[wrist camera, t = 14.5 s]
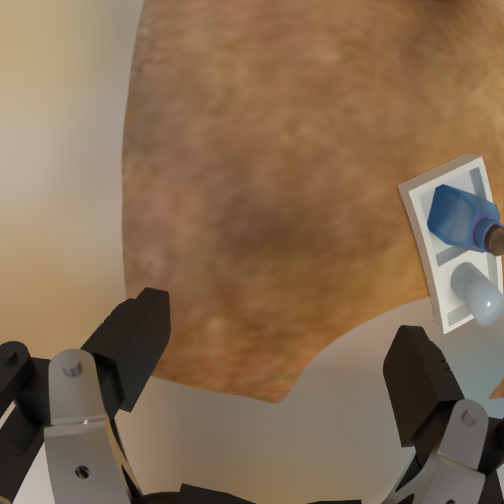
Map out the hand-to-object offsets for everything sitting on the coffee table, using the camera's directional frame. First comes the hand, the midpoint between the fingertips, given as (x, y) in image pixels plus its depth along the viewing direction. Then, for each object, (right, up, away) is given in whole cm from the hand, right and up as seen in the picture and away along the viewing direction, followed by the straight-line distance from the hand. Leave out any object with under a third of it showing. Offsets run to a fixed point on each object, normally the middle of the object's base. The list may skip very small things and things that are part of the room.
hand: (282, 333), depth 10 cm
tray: (+28, +4, +25) cm, 38 cm away
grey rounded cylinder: (+30, -1, +26) cm, 40 cm away
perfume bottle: (+25, +8, +23) cm, 35 cm away
